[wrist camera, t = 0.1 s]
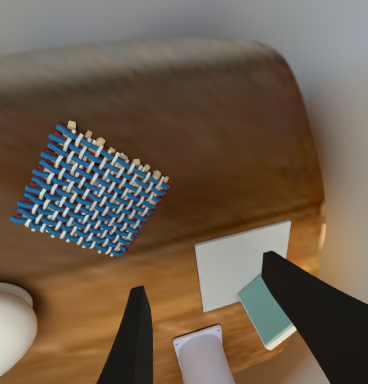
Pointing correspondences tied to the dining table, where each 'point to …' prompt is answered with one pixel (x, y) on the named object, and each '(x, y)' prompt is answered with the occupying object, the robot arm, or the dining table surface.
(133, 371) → the robot arm
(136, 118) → the dining table surface
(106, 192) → the woven mat
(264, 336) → the tile
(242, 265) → the felt pad
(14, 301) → the flower vase
